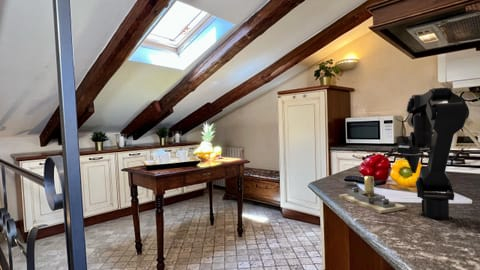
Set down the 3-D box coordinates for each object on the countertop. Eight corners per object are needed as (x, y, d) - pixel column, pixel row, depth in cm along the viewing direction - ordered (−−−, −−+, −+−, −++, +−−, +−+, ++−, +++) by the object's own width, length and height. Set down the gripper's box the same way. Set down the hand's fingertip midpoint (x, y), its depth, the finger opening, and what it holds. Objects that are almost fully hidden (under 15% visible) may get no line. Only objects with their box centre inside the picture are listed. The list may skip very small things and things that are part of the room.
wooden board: (405, 209, 94) (405, 206, 94) (380, 213, 91) (380, 210, 91) (360, 194, 115) (360, 191, 115) (338, 197, 112) (338, 194, 112)
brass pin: (369, 198, 105) (369, 175, 105) (376, 200, 102) (375, 177, 102) (363, 199, 104) (362, 176, 104) (369, 201, 101) (368, 178, 101)
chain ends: (398, 205, 95) (398, 196, 95) (381, 208, 93) (380, 199, 93) (359, 193, 113) (359, 185, 113) (344, 195, 111) (344, 187, 111)
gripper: (421, 127, 107) (421, 166, 108) (384, 130, 102) (385, 171, 102) (450, 127, 97) (451, 170, 97) (410, 130, 91) (411, 176, 92)
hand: (423, 171), depth 97 cm, fingers open, 9 cm apart
